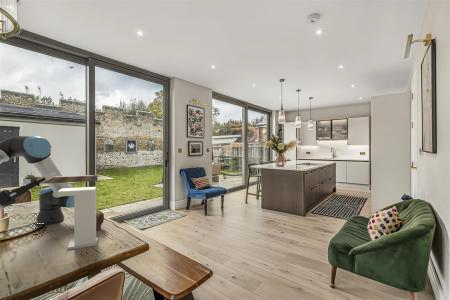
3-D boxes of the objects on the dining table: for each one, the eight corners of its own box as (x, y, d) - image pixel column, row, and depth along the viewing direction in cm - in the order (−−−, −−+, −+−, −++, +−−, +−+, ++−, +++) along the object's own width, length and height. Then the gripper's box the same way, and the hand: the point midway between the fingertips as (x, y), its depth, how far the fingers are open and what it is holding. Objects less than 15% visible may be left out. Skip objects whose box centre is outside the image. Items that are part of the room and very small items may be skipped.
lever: (30, 184, 108) (30, 177, 108) (33, 183, 111) (33, 177, 111) (96, 181, 119) (96, 175, 119) (97, 180, 122) (97, 175, 122)
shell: (94, 234, 132) (94, 214, 132) (79, 232, 134) (79, 212, 134) (107, 227, 143) (107, 209, 143) (93, 226, 145) (93, 207, 145)
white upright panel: (57, 251, 111) (57, 191, 111) (61, 244, 119) (61, 188, 118) (96, 245, 118) (96, 189, 117) (98, 239, 126) (98, 186, 125)
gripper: (-15, 198, 97) (43, 169, 105) (4, 190, 112) (54, 166, 119) (-3, 211, 99) (53, 183, 106) (14, 202, 113) (62, 178, 121)
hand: (53, 174), depth 113 cm, fingers closed on lever, 3 cm apart
